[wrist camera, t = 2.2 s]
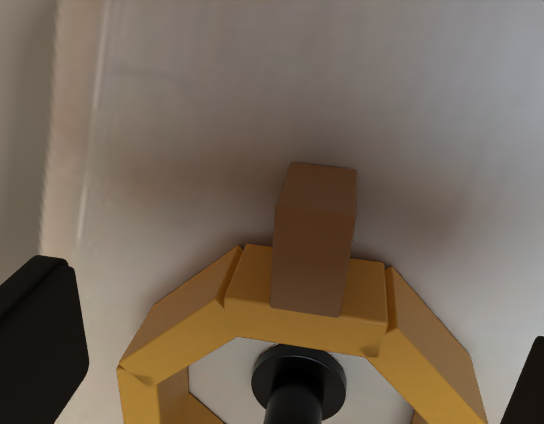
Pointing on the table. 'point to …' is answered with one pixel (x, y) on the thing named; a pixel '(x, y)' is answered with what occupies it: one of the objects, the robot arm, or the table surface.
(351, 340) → the ring
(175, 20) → the table surface
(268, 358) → the peg stand
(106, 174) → the table surface
